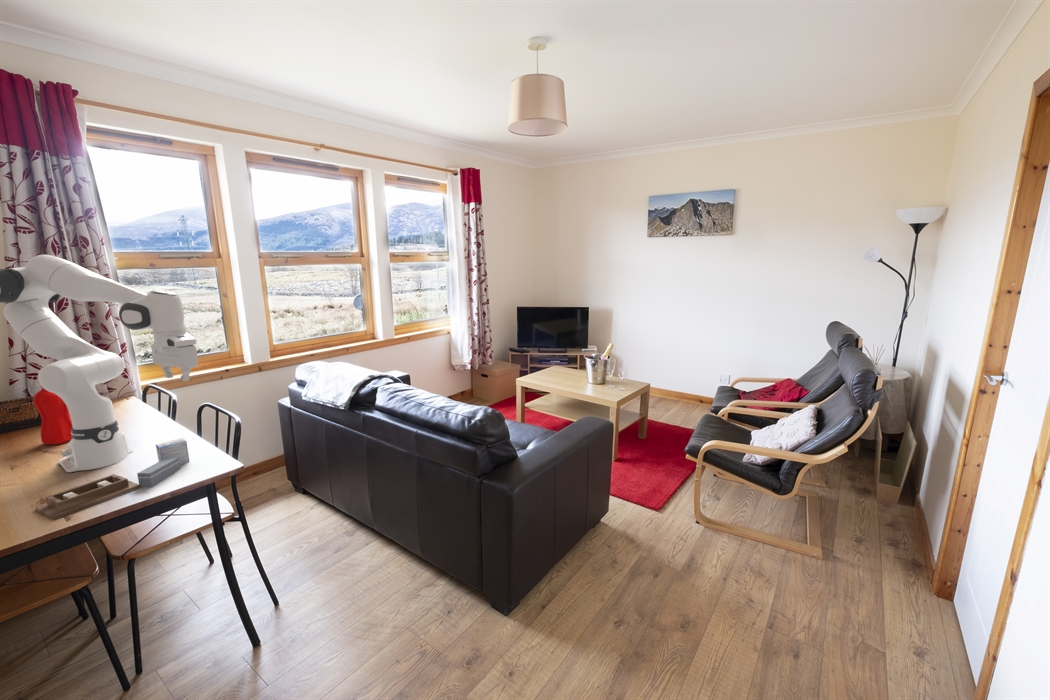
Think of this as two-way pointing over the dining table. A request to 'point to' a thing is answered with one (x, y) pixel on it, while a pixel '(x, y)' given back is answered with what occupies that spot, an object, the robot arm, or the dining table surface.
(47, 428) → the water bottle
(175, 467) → the gray rectangular box
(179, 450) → the medicine box
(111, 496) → the brown wooden tray
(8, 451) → the dining table surface
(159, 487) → the dining table surface
